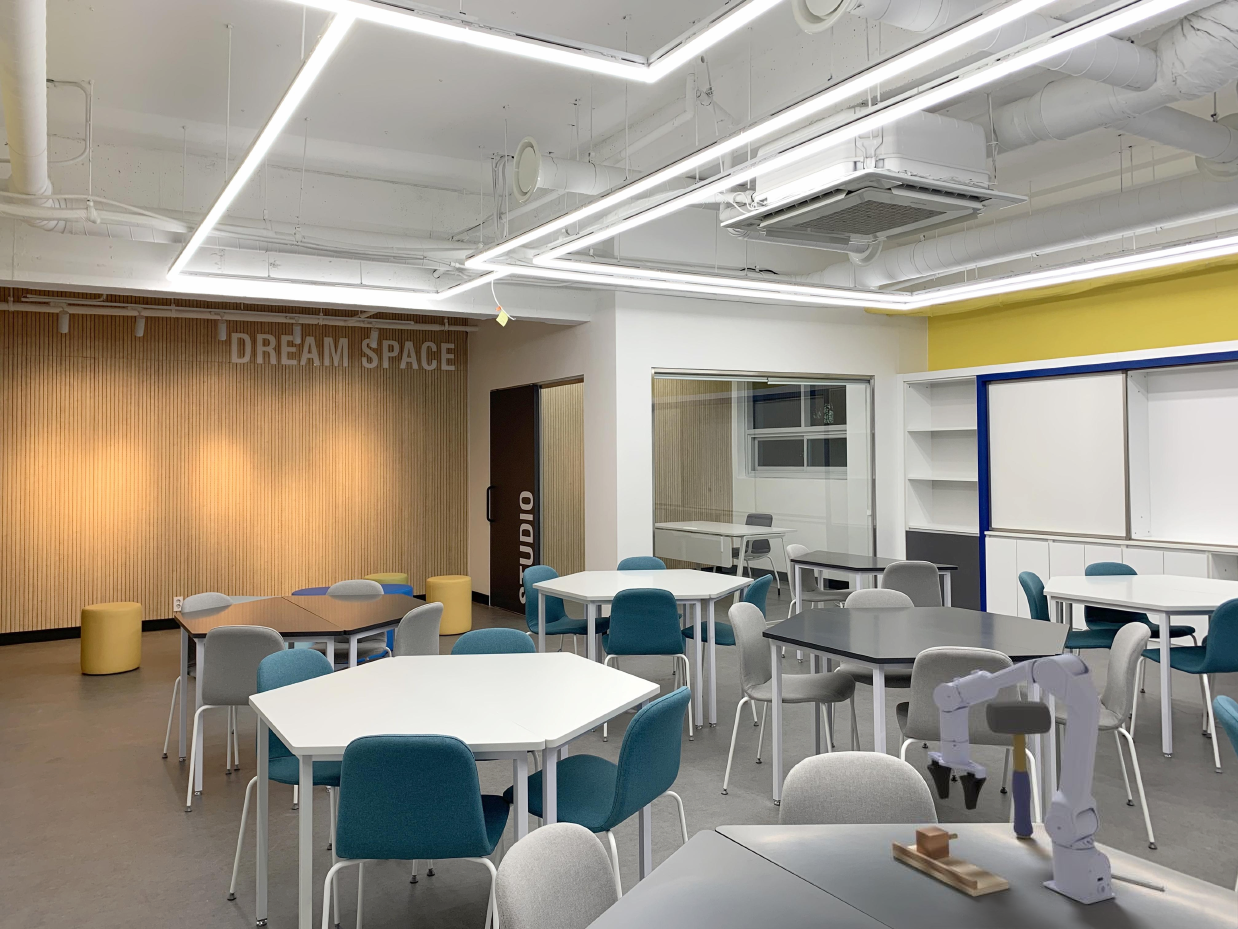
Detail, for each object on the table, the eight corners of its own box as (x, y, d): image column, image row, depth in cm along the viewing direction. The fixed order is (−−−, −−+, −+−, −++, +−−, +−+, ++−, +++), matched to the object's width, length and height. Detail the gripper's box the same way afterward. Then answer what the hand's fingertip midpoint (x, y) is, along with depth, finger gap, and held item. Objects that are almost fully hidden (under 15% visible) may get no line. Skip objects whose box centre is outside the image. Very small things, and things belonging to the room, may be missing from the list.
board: (1009, 888, 163) (1008, 873, 163) (973, 896, 160) (973, 881, 160) (925, 848, 183) (925, 835, 183) (892, 855, 180) (892, 842, 180)
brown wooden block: (963, 853, 177) (962, 829, 178) (930, 861, 174) (929, 836, 174) (949, 847, 181) (948, 823, 181) (916, 854, 177) (915, 829, 178)
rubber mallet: (1001, 843, 186) (994, 703, 188) (988, 830, 194) (983, 697, 196) (1059, 843, 185) (1053, 704, 187) (1045, 831, 193) (1038, 697, 195)
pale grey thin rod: (1090, 873, 170) (1090, 868, 170) (1092, 872, 171) (1092, 866, 171) (1161, 893, 161) (1161, 887, 161) (1163, 891, 162) (1163, 886, 162)
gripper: (916, 733, 189) (918, 796, 188) (966, 749, 175) (969, 816, 174) (940, 730, 191) (942, 792, 190) (991, 745, 178) (994, 811, 177)
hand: (957, 803), depth 182 cm, fingers open, 7 cm apart
